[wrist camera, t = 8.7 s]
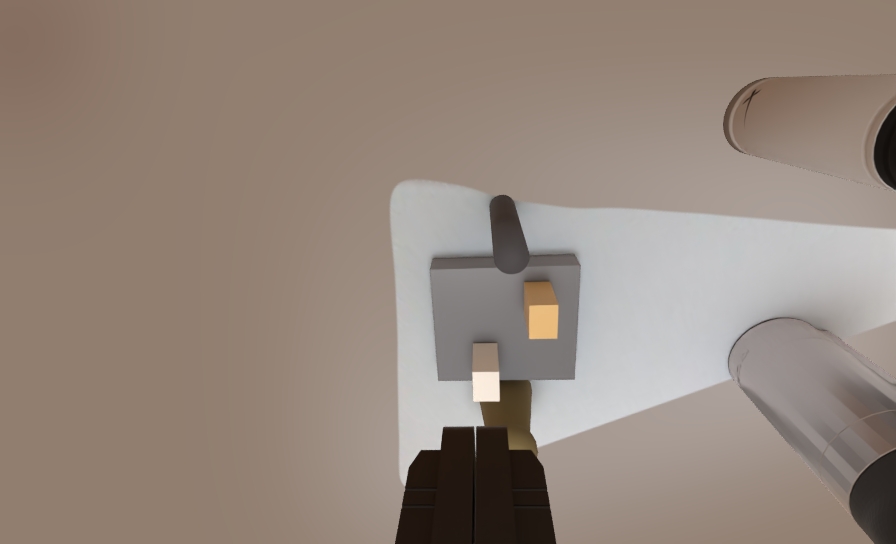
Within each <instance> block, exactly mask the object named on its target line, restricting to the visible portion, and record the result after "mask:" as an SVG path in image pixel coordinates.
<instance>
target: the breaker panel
mask: <svg viewBox="0 0 896 544" xmlns="http://www.w3.org/2000/svg"><path fill="white" fill-rule="evenodd" d="M580 269H581V265H580V263H579V262H578V260H577V258H576V256H575V254H573V255H540V256H530V258H529V263H528V265H527V267H526V268H525V269H524V270H523V271H521V272H519V273H517V274H506V273H503V272H501V271H500V270H499V269H498V268H497V267H496V265H495V263H494V257H475V258H442V259H433V260H432V264H431V268H430V277H431V291H432V304H433V317H434V331H435V344H436V357H437V370H438V381H471V380H473V377H472V365H473V343H497V347H498V362H499V380H575V362H576V343H577V324H578V306H579V287H580ZM549 281H550V283H551V285H552V288H553V291H554V294H555V297H556V299H557V302H558V333H557V339H529V336H528V331H527V326H526V321H525V316H524V282H549Z"/></svg>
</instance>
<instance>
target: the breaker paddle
mask: <svg viewBox="0 0 896 544" xmlns="http://www.w3.org/2000/svg"><path fill="white" fill-rule="evenodd" d="M524 316H525V321H526V326H527V331H528V336H529V339H557V333H558V302H557V299H556V297H555V294H554V291H553V288H552V285H551V283H550V281H549V282H524Z"/></svg>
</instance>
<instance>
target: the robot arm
mask: <svg viewBox="0 0 896 544" xmlns="http://www.w3.org/2000/svg"><path fill="white" fill-rule="evenodd" d="M729 370H730V374H731V376H732V378H733V380H734V381H735V382H736V383H737V384H738V386H739V387H740V388H741V389H742V390H743V391H744V393H745V394H746V395H747V396H748V397H749V398H750V399H751V401H752V402H753V403H754V404H755V406H756V407H757V408H758V409H759V410H760V411H761V413H762V414H763V415H764V416H765V417H766V418H767V419H768V421H769V422H770V423H771V424H772V425H773V426H774V428H775V429H776V430H777V431H778V432H779V434H780V435H781V436H782V437H783V438H784V439H785V440H786V442H787V443H788V444H789V445H790V446H791V447H792V449H793V450H794V451H795V452H796V453H797V454H798V456H799V457H800V458H801V459H802V460H803V461H804V463H805V464H806V465H807V466H808V467H809V468H810V469H811V471H812V472H813V473H814V474H815V475H816V476H817V478H818V479H819V480H820V481H821V482H822V483H823V485H824V486H825V487H826V488H827V489H828V490H829V491H830V492H831V494H832V495H833V496H834V497H835V498H836V499H837V501H838V502H839V503H840V504H841V505H842V506H843V508H844V509H845V510H846V511H847V512H848V513H849V514H850V516H851V517H852V518H853V519H854V520H855V521H856V522H857V524H858V525H859V526H860V527H861V528H862V529H863V531H864V532H865V533H866V534H867V535H868V536H869V537H870V539H871V540H872V541H873V542H874V544H896V378H895V377H893V376H892V375H890V374H889V373H887V372H886V371H885V370H883V369H882V368H880V367H879V366H878V365H876V364H875V363H873V362H872V361H870V360H869V359H868V358H866V357H865V356H863V355H862V354H860V353H859V352H858V351H856V350H855V349H853V348H852V347H851V346H849V345H848V344H846V343H845V342H843V341H842V340H841V339H839V338H838V337H836V336H835V335H833V334H832V333H831V332H829V331H821V330H817V329H815V328H814V327H813V326H811V325H810V324H808V323H806V322H804V321H801V320H797V319H791V318H780V319H775V320H770V321H767V322H764V323H761V324H759V325H757V326H755V327H754V328H752V329H750V330H749V331H748V332H746V333H745V334H744V335H743V336H742V337H741V338H740V339H739V340H738V341H737V342H736V344H735V346H734V347H733V349H732V351H731V354H730V358H729ZM395 544H556V539H555V533H554V527H553V521H552V516H551V510H550V504H549V497H548V492H547V485H546V480H545V474H544V468H543V466H542V464H541V463H540V462H539V460H538V459H537V457H536V456H535V454H534V453H533V451H532V450H509V443H508V431H507V426H477V427H476V452H475V433H474V427H443V433H442V442H441V450H421V451H420V452H419V454H418V455H417V457H416V458H415V460H414V461H413V462H412V464H411V465H410V467H409V470H408V476H407V481H406V486H405V492H404V497H403V503H402V509H401V514H400V519H399V525H398V530H397V536H396V541H395Z"/></svg>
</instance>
